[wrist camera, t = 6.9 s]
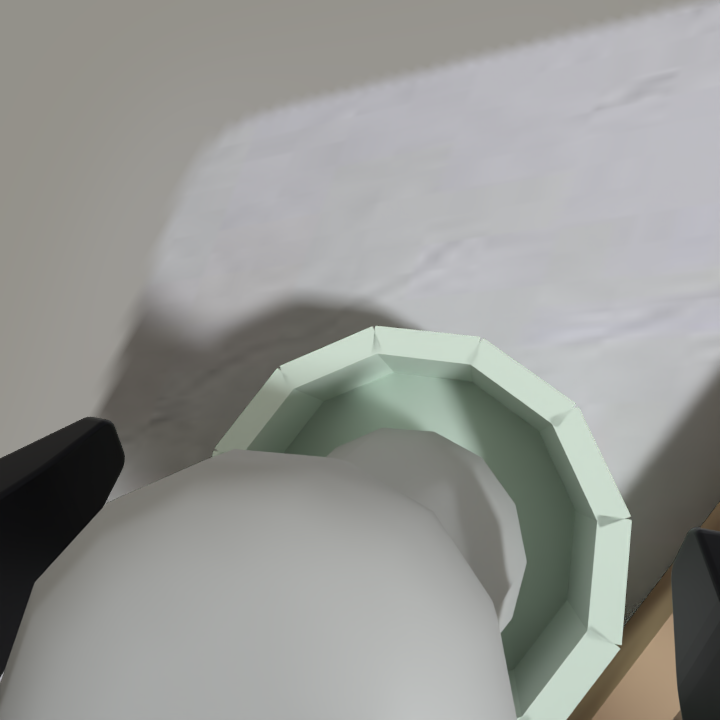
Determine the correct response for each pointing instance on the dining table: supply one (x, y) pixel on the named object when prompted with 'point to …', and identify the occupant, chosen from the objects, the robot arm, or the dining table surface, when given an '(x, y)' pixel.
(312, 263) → the dining table surface
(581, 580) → the bowl
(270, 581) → the salt shaker
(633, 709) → the tray
